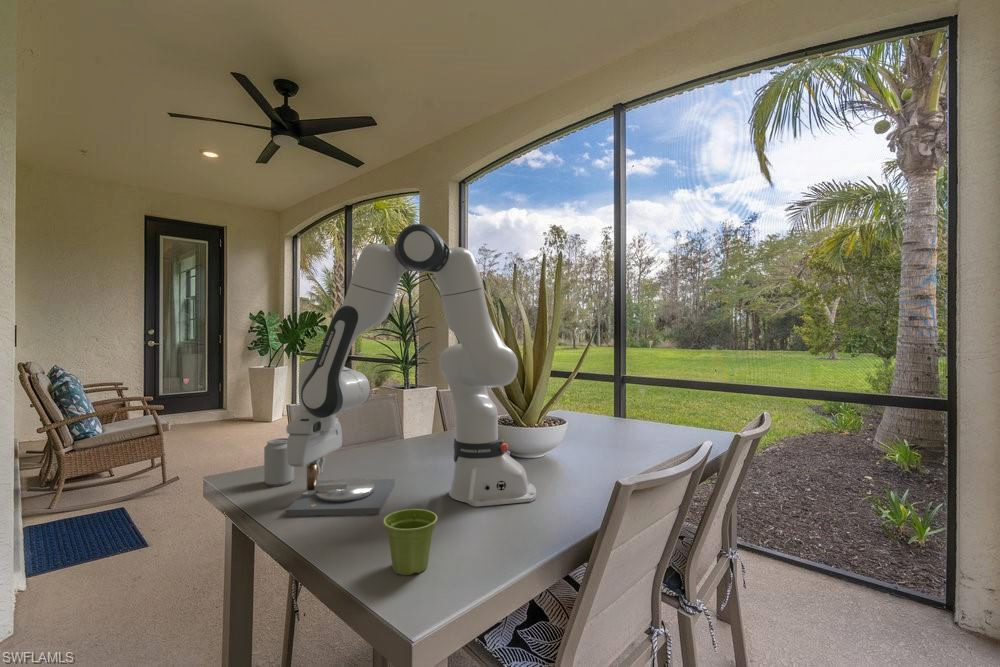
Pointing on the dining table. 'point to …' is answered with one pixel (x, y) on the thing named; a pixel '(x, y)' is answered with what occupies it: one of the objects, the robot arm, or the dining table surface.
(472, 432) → the robot arm
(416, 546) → the plant pot
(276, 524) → the dining table surface
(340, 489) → the dial
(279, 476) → the can
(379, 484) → the dial plate
